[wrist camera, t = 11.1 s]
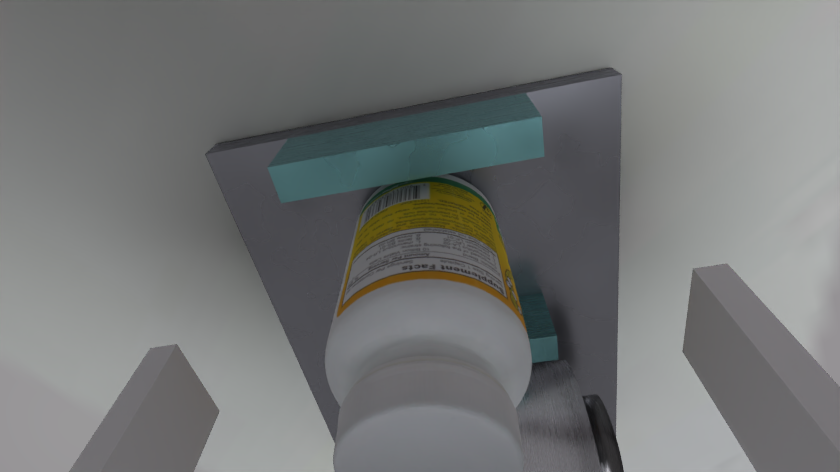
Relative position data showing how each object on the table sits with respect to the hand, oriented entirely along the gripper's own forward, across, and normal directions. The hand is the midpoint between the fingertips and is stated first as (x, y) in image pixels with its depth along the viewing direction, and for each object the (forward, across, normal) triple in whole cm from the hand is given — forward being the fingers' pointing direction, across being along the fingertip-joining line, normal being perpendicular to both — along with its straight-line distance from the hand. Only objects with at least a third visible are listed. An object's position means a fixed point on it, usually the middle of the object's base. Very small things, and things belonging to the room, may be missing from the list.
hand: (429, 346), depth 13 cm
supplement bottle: (+6, 0, 0) cm, 7 cm away
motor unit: (+7, 0, -5) cm, 9 cm away
